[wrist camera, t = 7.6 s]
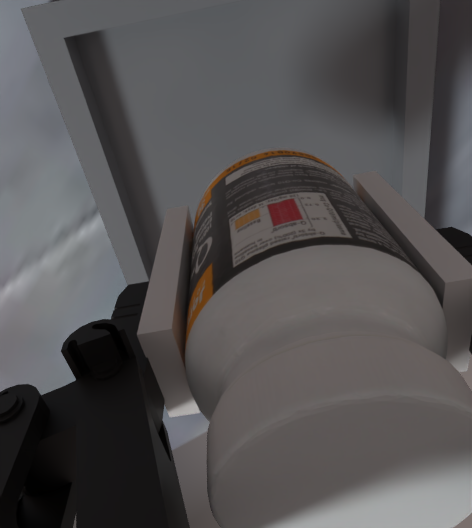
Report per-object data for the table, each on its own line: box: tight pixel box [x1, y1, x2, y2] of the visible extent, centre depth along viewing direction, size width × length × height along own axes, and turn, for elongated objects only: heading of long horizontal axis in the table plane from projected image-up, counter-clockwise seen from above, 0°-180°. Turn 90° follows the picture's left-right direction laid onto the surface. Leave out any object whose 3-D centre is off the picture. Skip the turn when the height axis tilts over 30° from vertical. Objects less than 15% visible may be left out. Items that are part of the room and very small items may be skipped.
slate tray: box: [21, 0, 441, 285], centre depth 20 cm, size 16×16×2 cm
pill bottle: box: [185, 148, 472, 528], centre depth 11 cm, size 6×6×10 cm
